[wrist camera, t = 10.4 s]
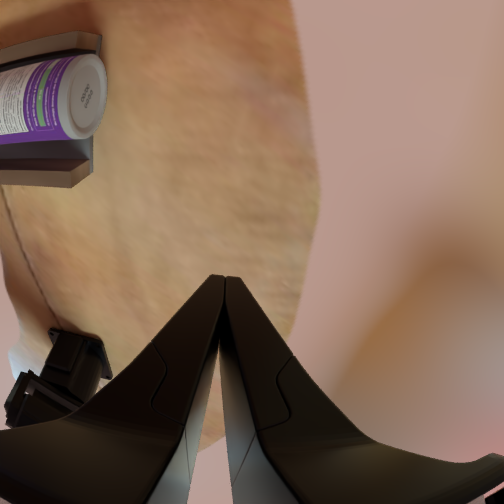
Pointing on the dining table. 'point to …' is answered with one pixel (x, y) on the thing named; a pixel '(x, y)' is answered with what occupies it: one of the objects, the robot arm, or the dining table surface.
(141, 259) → the dining table surface
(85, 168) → the cradle
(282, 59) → the dining table surface
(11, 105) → the container
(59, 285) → the dining table surface
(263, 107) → the dining table surface
